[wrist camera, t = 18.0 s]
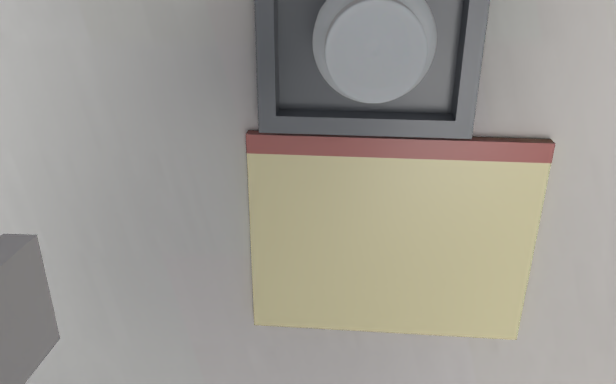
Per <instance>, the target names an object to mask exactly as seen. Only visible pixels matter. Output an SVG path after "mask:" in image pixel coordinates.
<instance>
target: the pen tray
mask: <svg viewBox="0 0 616 384" xmlns="http://www.w3.org/2000/svg"><path fill="white" fill-rule="evenodd" d="M254 1H255V31H256V61H257V91H258V121H259V133H286V134H320V135H354V136H388V137H422V138H455V139H472V133H473V125H474V118H475V110H476V102H477V95H478V87H479V80H480V72H481V64H482V57H483V49H484V42H485V34H486V26H487V19H488V11H489V4H490V0H425V1H426V3H427V4H428V6H429V8H430V10H431V12H432V15H433V17H434V21H435V25H436V32H437V43H436V50H435V54H434V57H433V60H432V63H431V65H430V67H429V69H428V71H427V73H426V74H425V76H424V77H423V79H422V80H421V81H420V82H419V83H418V84H417V85H416V86H415V87H414V88H413V89H412V90H410V91H409V92H408V93H406V94H404V95H403V96H401V97H399V98H397V99H394V100H391V101H388V102H384V103H363V102H358V101H354V100H352V99H349V98H347V97H345V96H343V95H341V94H340V93H338V92H337V91H335V90H334V89H333V88H332V87H331V86H330V85H329V84H328V83H327V82H326V80H325V79H324V78H323V76H322V75H321V73H320V71H319V69H318V67H317V64H316V61H315V58H314V54H313V45H312V41H313V30H314V26H315V22H316V19H317V15H318V13H319V10H320V8H321V7H322V5H323V4H324V3H325V1H326V0H254Z"/></svg>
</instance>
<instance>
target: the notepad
mask: <svg viewBox="0 0 616 384" xmlns="http://www.w3.org/2000/svg"><path fill="white" fill-rule="evenodd" d="M554 148H555V143H554V142H553V141H552V140H551V139H527V138H493V137H472V139H455V138H422V137H388V136H354V135H320V134H286V133H259V131H254V130H248V132H247V133H246V149H247V169H248V193H249V216H250V239H251V262H252V285H253V308H254V325H262V326H280V327H297V328H315V329H333V330H351V331H368V332H386V333H404V334H421V335H439V336H457V337H474V338H492V339H510V340H517V335H518V329H519V324H520V319H521V314H522V309H523V304H524V299H525V294H526V289H527V284H528V279H529V274H530V269H531V263H532V258H533V253H534V248H535V243H536V238H537V233H538V228H539V223H540V218H541V213H542V208H543V203H544V198H545V192H546V187H547V182H548V177H549V172H550V167H551V163H552V158H553V153H554Z"/></svg>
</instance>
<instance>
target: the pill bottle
mask: <svg viewBox="0 0 616 384" xmlns="http://www.w3.org/2000/svg"><path fill="white" fill-rule="evenodd" d="M436 43H437V32H436V25H435V21H434V17H433V15H432V12H431V10H430V8H429V6H428V4H427V3H426V1H425V0H326V1H325V3H324V4H323V5H322V7H321V8H320V10H319V13H318V15H317V19H316V22H315V26H314V30H313V41H312V45H313V54H314V58H315V61H316V64H317V67H318V69H319V71H320V73H321V75H322V76H323V78H324V79H325V80H326V82H327V83H328V84H329V85H330V86H331V87H332V88H333V89H334V90H335V91H337V92H338V93H340V94H341V95H343V96H345V97H347V98H349V99H352V100H354V101H358V102H363V103H384V102H388V101H391V100H394V99H397V98H399V97H401V96H403V95H404V94H406V93H408V92H409V91H410V90H412V89H413V88H414V87H415V86H416V85H417V84H418V83H419V82H420V81H421V80H422V79H423V77H424V76H425V74H426V73H427V71H428V69H429V67H430V65H431V63H432V60H433V57H434V54H435V50H436Z"/></svg>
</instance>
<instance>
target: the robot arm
mask: <svg viewBox="0 0 616 384" xmlns="http://www.w3.org/2000/svg"><path fill="white" fill-rule="evenodd" d="M59 339H60V336H59V331H58V327H57V322H56V318H55V314H54V309H53V305H52V300H51V296H50V291H49V287H48V282H47V278H46V274H45V269H44V265H43V260H42V256H41V251H40V247H39V242H38V238H37V235H23V234H2V235H1V236H0V384H25V383H26V381H27V380H28V379H29V378H30V376H31V375H32V374H33V372H34V371H35V370H36V369H37V367H38V366H39V365H40V363H41V362H42V361H43V360H44V358H45V357H46V356H47V354H48V353H49V352H50V351H51V349H52V348H53V347H54V345H55V344H56V343H57V342H58V340H59Z"/></svg>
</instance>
